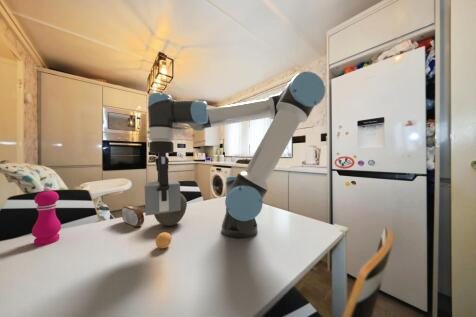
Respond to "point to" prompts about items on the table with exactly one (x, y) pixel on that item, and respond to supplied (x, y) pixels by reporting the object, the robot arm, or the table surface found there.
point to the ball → (163, 240)
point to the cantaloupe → (172, 214)
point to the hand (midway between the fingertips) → (163, 206)
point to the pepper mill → (46, 218)
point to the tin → (132, 215)
